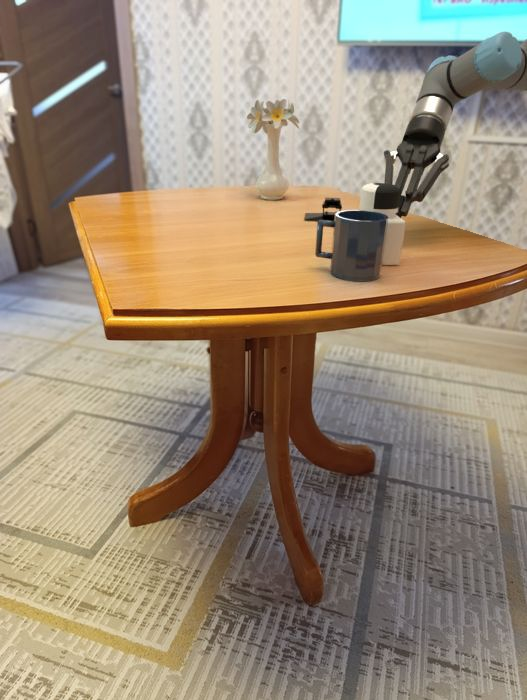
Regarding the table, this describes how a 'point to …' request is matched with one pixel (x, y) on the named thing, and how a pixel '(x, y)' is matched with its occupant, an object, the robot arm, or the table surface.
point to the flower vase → (272, 145)
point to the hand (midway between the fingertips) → (391, 228)
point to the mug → (355, 244)
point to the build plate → (326, 215)
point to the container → (387, 203)
